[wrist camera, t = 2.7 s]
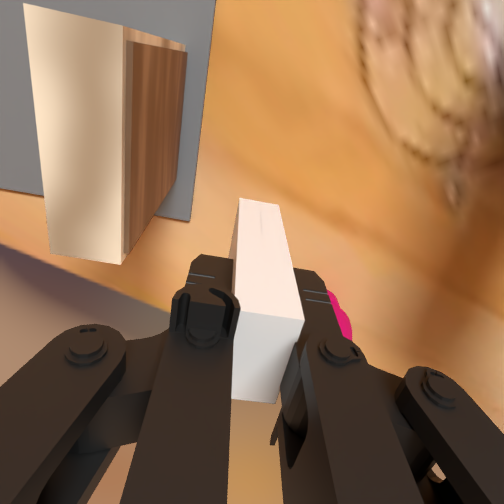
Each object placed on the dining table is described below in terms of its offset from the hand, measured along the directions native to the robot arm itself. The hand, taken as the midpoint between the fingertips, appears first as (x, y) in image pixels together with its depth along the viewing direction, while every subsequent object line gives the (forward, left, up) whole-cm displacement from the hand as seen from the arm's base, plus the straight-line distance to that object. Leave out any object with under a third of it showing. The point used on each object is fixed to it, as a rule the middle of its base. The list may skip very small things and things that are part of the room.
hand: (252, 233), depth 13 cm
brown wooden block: (+9, 0, -21) cm, 23 cm away
